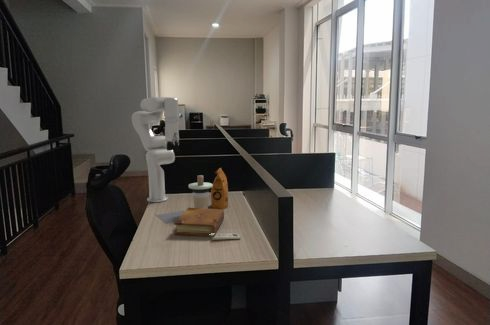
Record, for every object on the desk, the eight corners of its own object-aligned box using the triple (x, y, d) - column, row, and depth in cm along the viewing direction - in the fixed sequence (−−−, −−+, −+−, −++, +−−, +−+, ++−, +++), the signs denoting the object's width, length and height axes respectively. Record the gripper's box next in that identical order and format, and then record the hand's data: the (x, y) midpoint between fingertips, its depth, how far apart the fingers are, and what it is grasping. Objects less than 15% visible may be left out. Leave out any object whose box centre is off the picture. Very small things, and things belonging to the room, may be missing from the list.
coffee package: (208, 209, 212) (207, 171, 209) (214, 203, 224) (213, 167, 221) (225, 209, 210) (224, 171, 207) (230, 203, 222) (229, 167, 219)
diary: (214, 237, 168) (214, 224, 167) (174, 234, 171) (174, 222, 170) (224, 219, 191) (224, 208, 190) (188, 217, 193) (188, 207, 192)
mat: (155, 216, 198) (155, 215, 198) (183, 211, 207) (183, 210, 207) (165, 224, 185) (165, 223, 185) (195, 219, 193) (195, 217, 193)
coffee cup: (211, 211, 208) (210, 185, 205) (207, 216, 199) (207, 188, 196) (195, 210, 208) (194, 184, 206) (191, 215, 200) (190, 188, 197)
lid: (184, 185, 203) (184, 175, 202) (206, 183, 210) (205, 172, 209) (194, 190, 192) (194, 179, 191) (216, 187, 199) (216, 176, 198)
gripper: (159, 119, 210) (161, 150, 212) (170, 121, 195) (172, 153, 198) (172, 119, 214) (173, 149, 216) (184, 120, 199) (185, 152, 202)
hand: (172, 151), depth 207 cm, fingers open, 9 cm apart
